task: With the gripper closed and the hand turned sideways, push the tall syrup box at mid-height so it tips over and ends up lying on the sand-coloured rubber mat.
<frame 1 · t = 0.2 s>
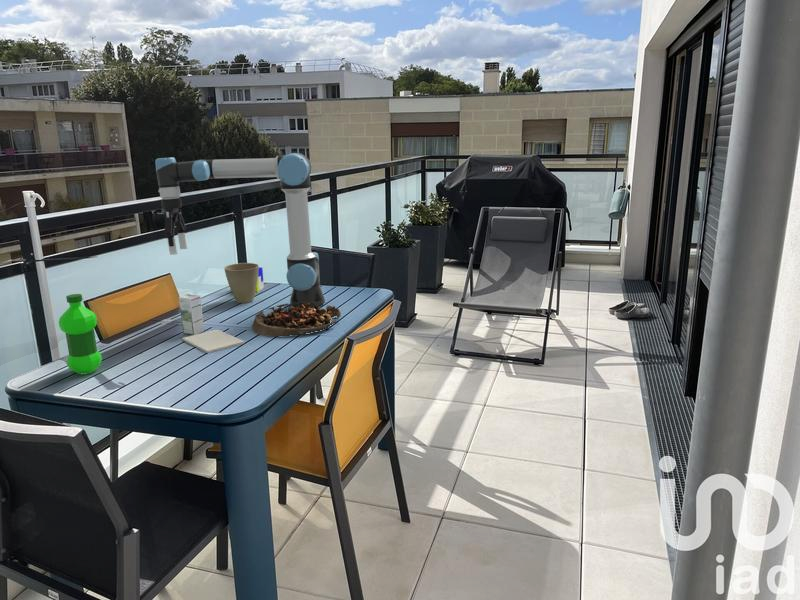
hand: (178, 251, 243), 27 cm above the table, tool pointing down, fingers open, 13 cm apart
plastic bottle: (86, 372, 194), on the table
food dish: (296, 324, 240), on the table
puzzle toy: (250, 290, 294), on the table
plant pot: (244, 301, 274), on the table
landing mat: (213, 341, 220), on the table
syrup box: (193, 332, 231), on the table
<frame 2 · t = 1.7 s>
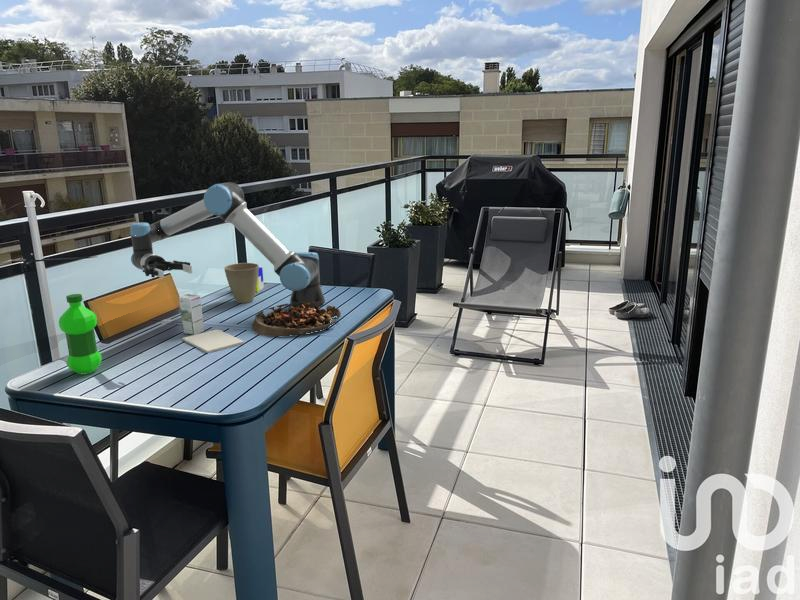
hand: (177, 272, 231), 22 cm above the table, tool horizontal, fingers open, 10 cm apart
nothing on the table moved.
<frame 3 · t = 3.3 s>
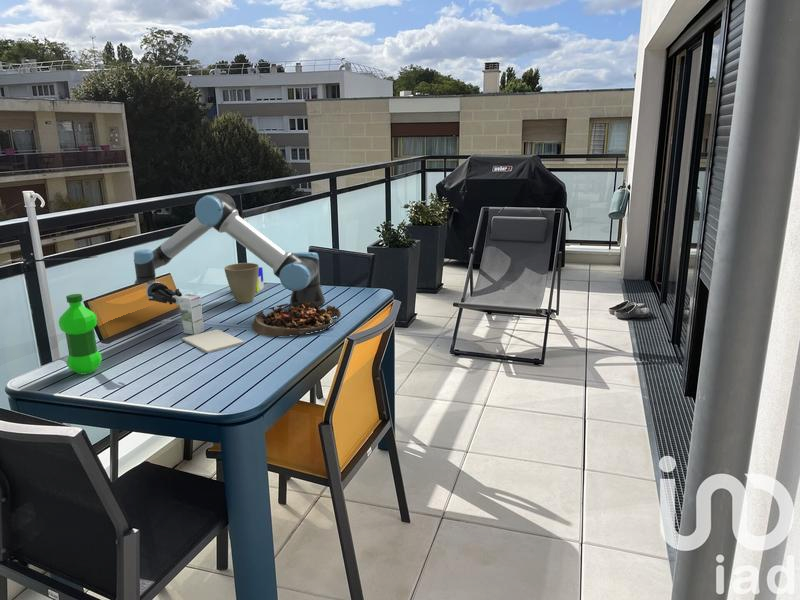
hand: (181, 302, 233), 11 cm above the table, tool horizontal, fingers closed
nothing on the table moved.
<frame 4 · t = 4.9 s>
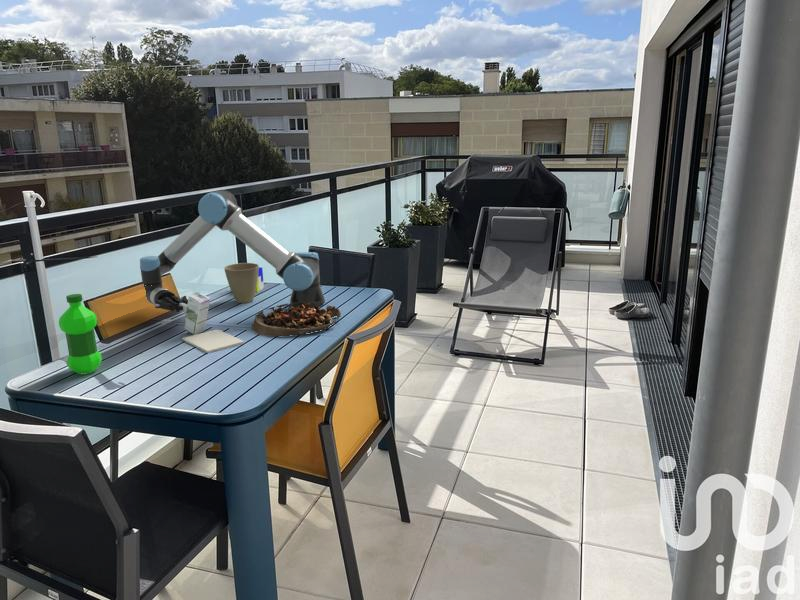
hand: (188, 309, 229), 9 cm above the table, tool horizontal, fingers closed
syrup box: (193, 330, 231), point 1 cm above the table, touching gripper
everything else where it was.
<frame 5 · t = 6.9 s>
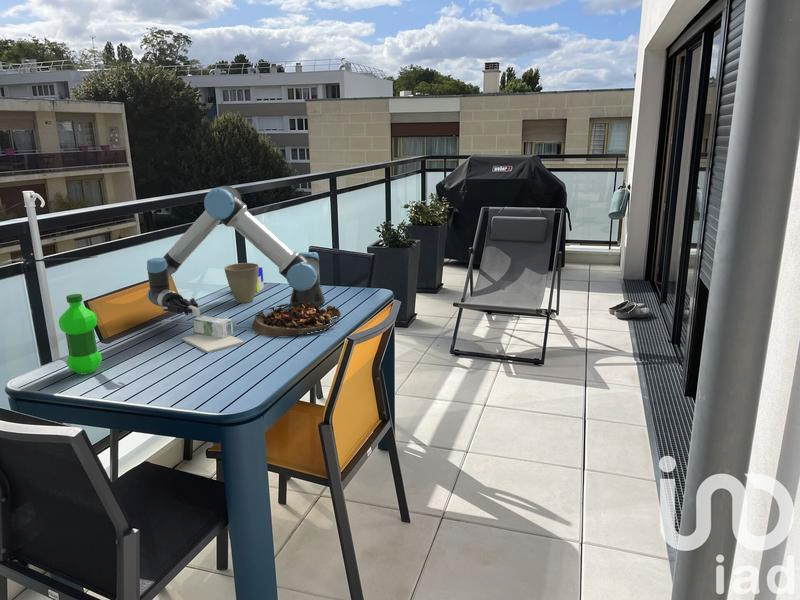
hand: (198, 312, 224), 9 cm above the table, tool horizontal, fingers closed
syrup box: (197, 324, 229), point 4 cm above the table, touching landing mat
everything else where it was.
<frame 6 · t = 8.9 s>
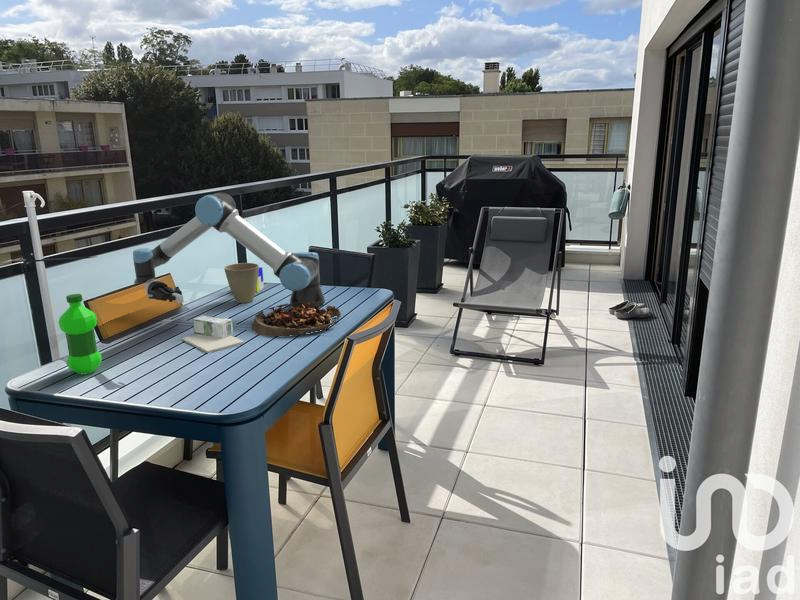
hand: (181, 299, 233), 12 cm above the table, tool horizontal, fingers closed
nothing on the table moved.
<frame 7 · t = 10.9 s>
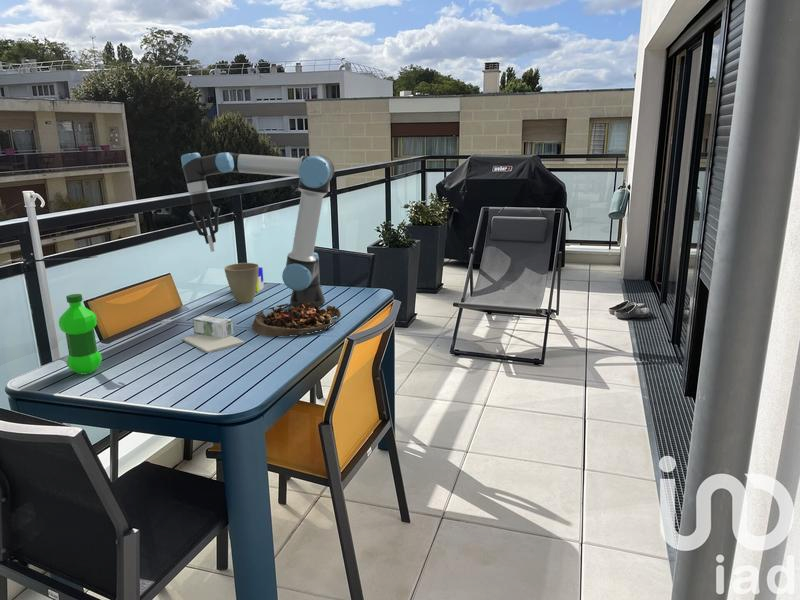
hand: (213, 251, 246), 27 cm above the table, tool pointing down, fingers closed
nothing on the table moved.
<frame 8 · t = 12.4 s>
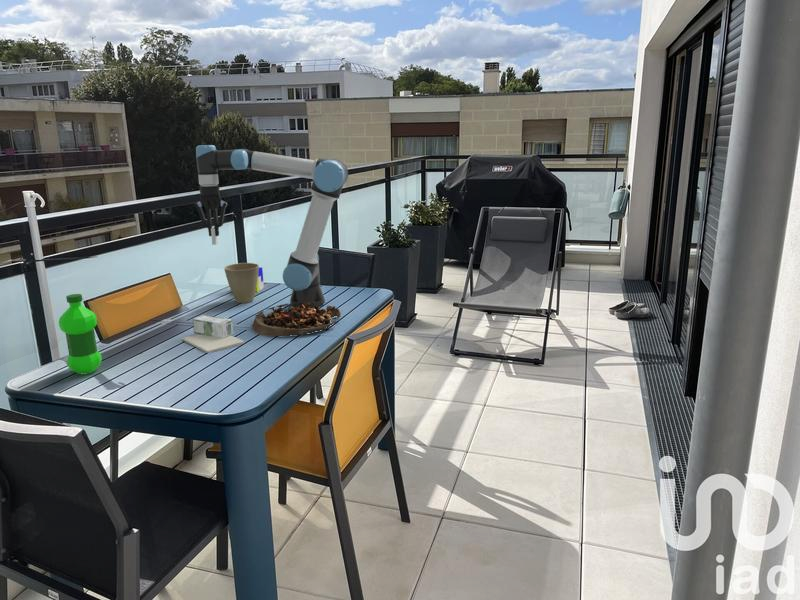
hand: (214, 244, 247), 29 cm above the table, tool pointing down, fingers closed
nothing on the table moved.
at the end: syrup box tilted 90°; syrup box touching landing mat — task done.
